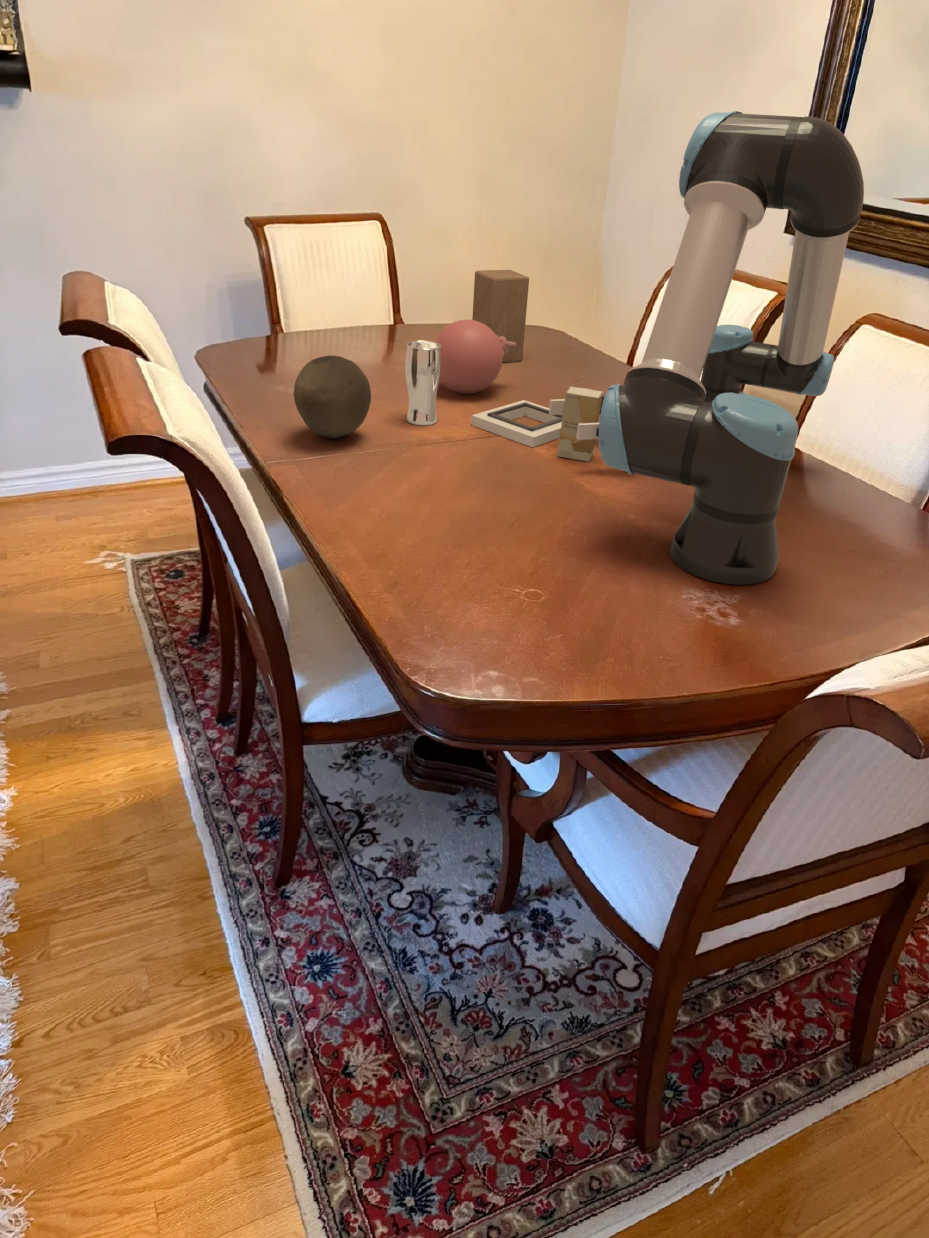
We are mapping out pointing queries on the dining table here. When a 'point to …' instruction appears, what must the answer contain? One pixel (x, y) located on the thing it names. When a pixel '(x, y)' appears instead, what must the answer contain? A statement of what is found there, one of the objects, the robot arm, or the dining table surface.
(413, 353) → the beer glass
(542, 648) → the dining table surface
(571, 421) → the skincare box
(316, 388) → the dark brown ball
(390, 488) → the dining table surface
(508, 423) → the socket block
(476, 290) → the wooden block
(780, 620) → the dining table surface
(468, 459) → the dining table surface
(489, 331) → the balloon
